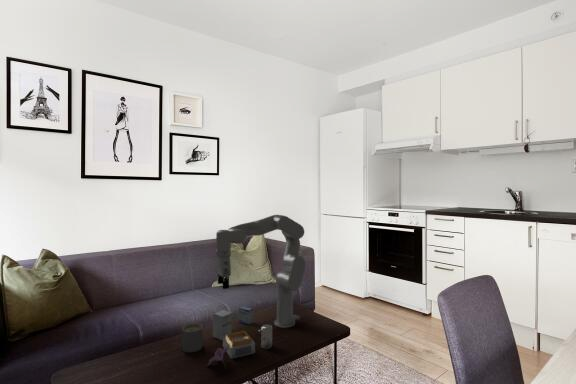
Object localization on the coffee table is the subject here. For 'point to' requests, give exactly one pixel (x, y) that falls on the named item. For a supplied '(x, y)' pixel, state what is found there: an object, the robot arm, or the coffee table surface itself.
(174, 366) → the coffee table surface
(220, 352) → the lily
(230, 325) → the supplement box
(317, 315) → the coffee table surface
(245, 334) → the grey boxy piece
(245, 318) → the medicine box
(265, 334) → the spout can
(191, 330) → the coffee mug
